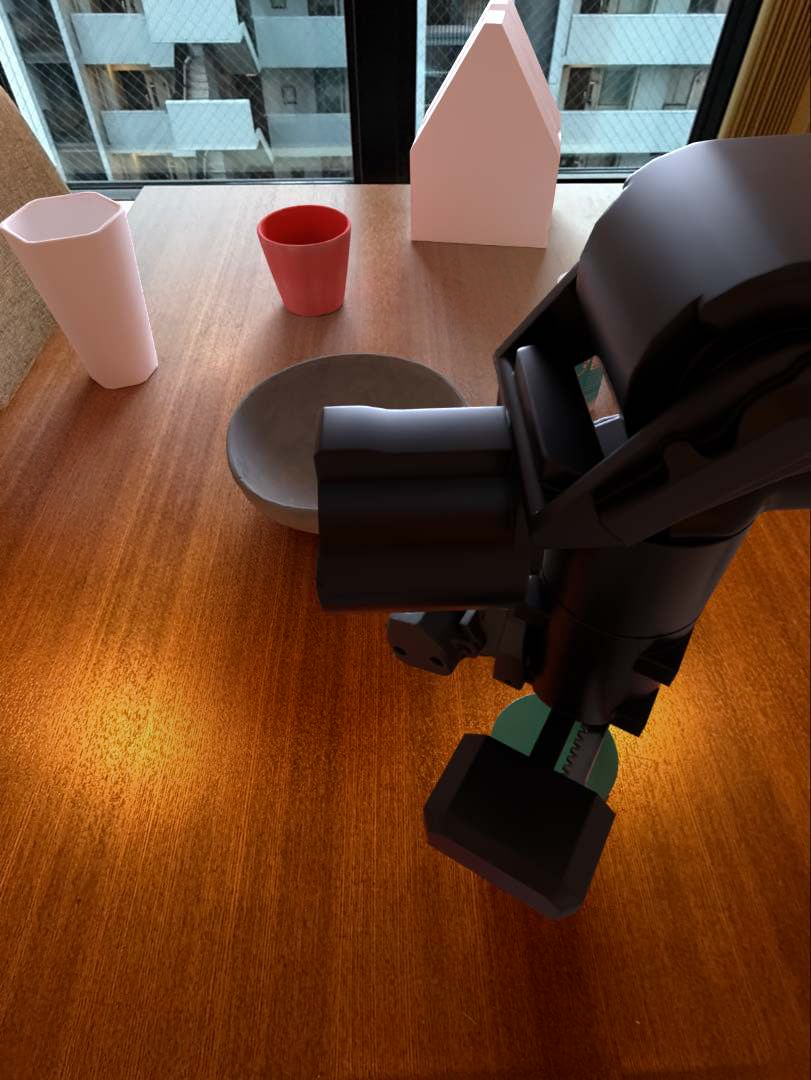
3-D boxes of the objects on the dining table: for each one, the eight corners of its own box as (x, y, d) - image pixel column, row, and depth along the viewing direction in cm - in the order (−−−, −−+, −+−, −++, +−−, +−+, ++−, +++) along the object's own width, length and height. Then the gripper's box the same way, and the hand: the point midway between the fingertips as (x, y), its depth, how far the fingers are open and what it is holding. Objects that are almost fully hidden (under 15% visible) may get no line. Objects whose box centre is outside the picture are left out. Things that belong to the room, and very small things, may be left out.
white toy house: (410, 240, 94) (408, 21, 75) (426, 195, 103) (427, -8, 84) (546, 248, 91) (580, 24, 72) (549, 201, 101) (579, -6, 82)
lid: (634, 757, 36) (643, 743, 35) (570, 857, 33) (576, 847, 32) (530, 686, 39) (535, 670, 38) (462, 771, 36) (464, 757, 35)
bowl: (421, 606, 52) (421, 542, 46) (197, 540, 57) (170, 474, 51) (491, 440, 65) (499, 373, 59) (303, 398, 70) (292, 332, 64)
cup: (108, 338, 78) (46, 187, 65) (187, 347, 77) (140, 194, 64) (58, 395, 71) (-23, 238, 58) (144, 405, 70) (80, 247, 57)
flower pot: (337, 330, 79) (329, 250, 71) (256, 315, 81) (240, 237, 74) (369, 287, 85) (364, 210, 78) (292, 275, 88) (281, 199, 80)
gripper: (521, 365, 31) (493, 569, 43) (275, 672, 20) (330, 828, 32) (770, 442, 27) (664, 642, 39) (622, 868, 17) (539, 962, 29)
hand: (555, 749), depth 35 cm, fingers open, 8 cm apart
